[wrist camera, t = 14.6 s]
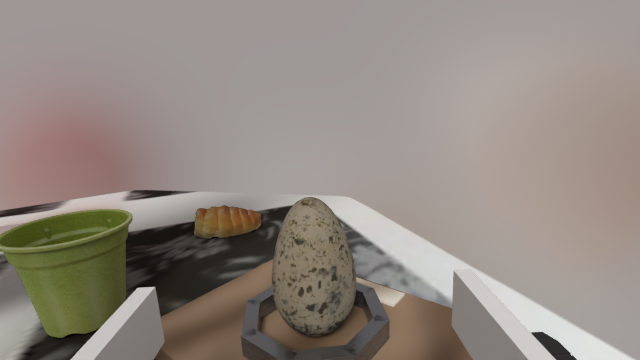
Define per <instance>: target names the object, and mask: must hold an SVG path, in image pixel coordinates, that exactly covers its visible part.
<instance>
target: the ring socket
mask: <svg viewBox="0 0 640 360" xmlns="http://www.w3.org/2000/svg"><path fill="white" fill-rule="evenodd" d="M353 305H354V306H357V307H359V308H362V309H363V310H364V313H365V315H366V318H367V321H368V323H367V324H366V325H365V326H364V327H363V328H362V329H361V330H360V331H359V332H358V333H357V334H356V335H355V336H354V337H353V338H352V339H351V340H350V341H349V342H348V343H347V344H346V345H339V346H330V347H321V348H313V349H304V350H295V351H292V350H290V349H288V348H287V347H285V346H283V345H281V344H280V343H278V342H276V341H274V340H273V339H271V338H269V337H267V336H266V335H264V334H262V333H260V331H261V321H262V319H264V318H265V317H266V316H268V315H269V314H271V313H272V312H274V311H275V310H277V307H276V304H275V301H274V297H273V291H272V286H271V287H270V288H268V289H266V290H265V291H263V292H261V293H260V294H258V295H256V296H254V297H253V298H251V299H249V300H248V301H247V305H246V311H245V316H244V321H243V327H242V332H241V344H242V353H243V356H244V357H246V358H247V359H249V360H371V359H372V358H373V357H374V356H375V355H376V354H377V352H378V351H379V350H380V349H381V348H382V347H383V346H384V344H385V343H386V342H387V341H388V340H389V318H388V316H387V314H386V312H385V310H384V308H383V306H382V304H381V302H380V300H379V298H378V296H377V294H376V292H375V290H374V288H372V287H369V286H366V285H363V284H360V283H358V282H356V296H355V300H354V304H353Z"/></svg>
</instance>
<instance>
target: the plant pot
mask: <svg viewBox="0 0 640 360" xmlns="http://www.w3.org/2000/svg"><path fill="white" fill-rule="evenodd" d="M131 222H132V214H131V213H130V212H127V211H124V210H118V209H99V210H87V211H79V212H73V213H67V214H61V215H56V216H51V217H47V218H43V219H39V220H35V221H32V222H29V223H26V224H23V225H20V226H18V227H15V228H13V229H10V230H8V231H6V232H4V233H2V234H1V235H0V251H1V252H3V253H4V255H5V256H6V258H7V260H8V262H9V263H10V264H11V265H13V266H14V267H15V268H16V270H17V272H18V274H19V276H20V278H21V281H22V283H23V285H24V287H25V289H26V291H27V293H28V295H29V297H30V299H31V302H32V304H33V306H34V308H35V310H36V312H37V314H38V317H39V319H40V321H41V323H42V325H43V327H44V330H45V332H46V333H47V334H48V335H50V336H52V337H58V338H63V337H65V336H67V335H69V334H74V333H79V334H86V333H89V332H92V331H95V330H97V329H99V328H101V326H102V325H103V324H104V323H105V322H106V321H107V320H108V319H109V318H110V317H111V316H112V315H113V314H114V313H115V312H116V310H117V309H118V308H119V307H120V306H121V305H122V304H123V303H124V302H125V301H126V239H127V237H128V225H129V224H130V223H131Z"/></svg>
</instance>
